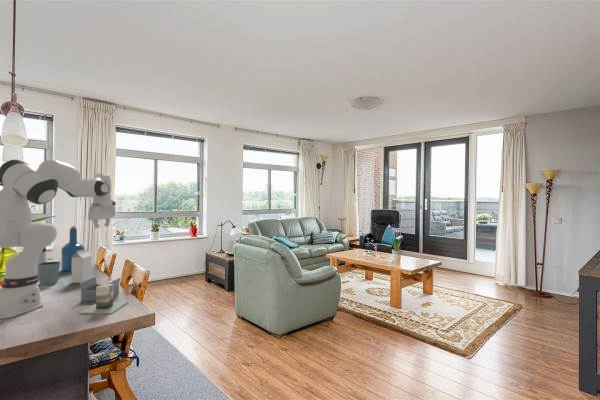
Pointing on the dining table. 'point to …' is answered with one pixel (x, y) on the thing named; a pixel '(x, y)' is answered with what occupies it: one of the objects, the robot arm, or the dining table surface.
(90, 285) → the storage tote
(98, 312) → the sage mat
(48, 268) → the grey-green plant pot
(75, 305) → the dining table surface
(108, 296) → the box
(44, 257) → the travel mug
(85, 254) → the milk carton
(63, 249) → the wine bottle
